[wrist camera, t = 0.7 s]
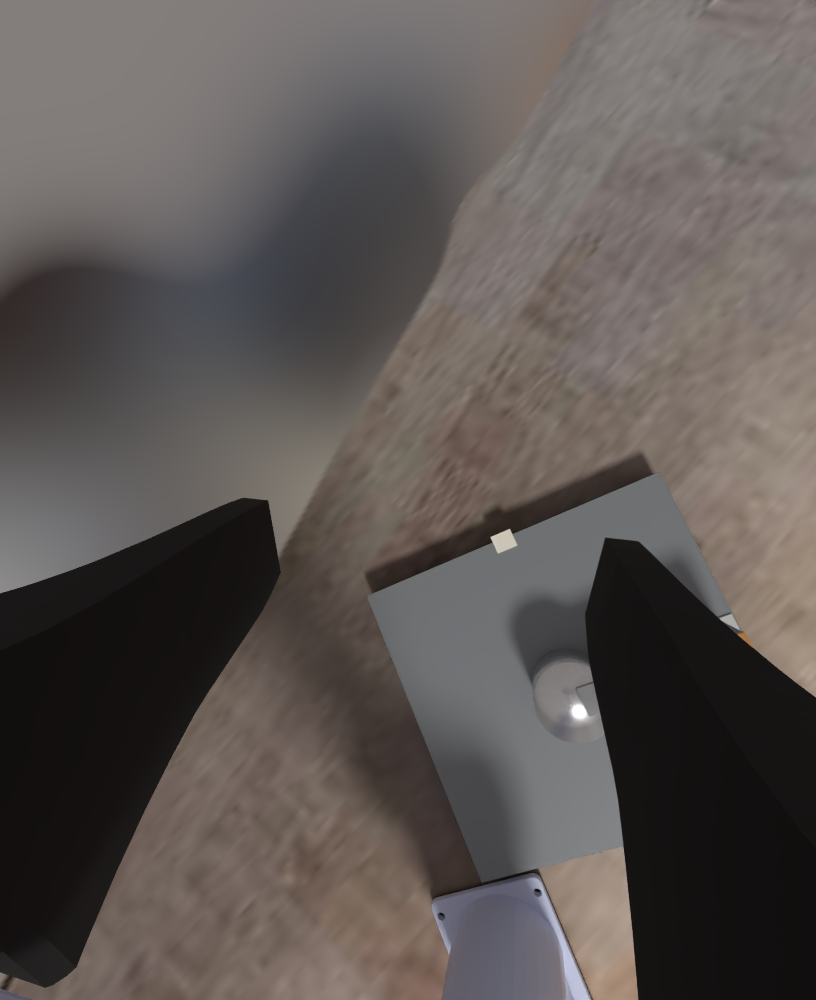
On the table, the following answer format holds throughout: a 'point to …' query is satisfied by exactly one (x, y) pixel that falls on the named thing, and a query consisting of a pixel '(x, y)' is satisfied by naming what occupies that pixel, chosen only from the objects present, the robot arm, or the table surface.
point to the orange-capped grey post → (571, 695)
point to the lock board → (524, 673)
